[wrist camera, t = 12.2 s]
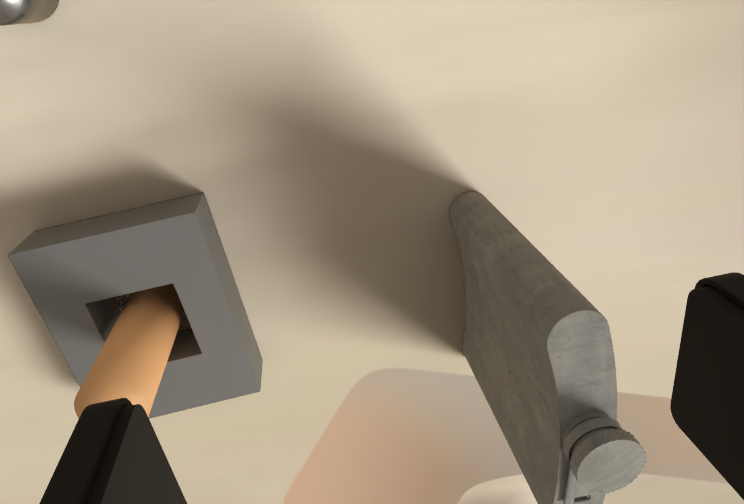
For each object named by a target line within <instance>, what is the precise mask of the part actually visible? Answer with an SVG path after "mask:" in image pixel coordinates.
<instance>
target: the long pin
mask: <svg viewBox="0 0 744 504" xmlns="http://www.w3.org/2000/svg"><path fill="white" fill-rule="evenodd" d="M183 314H184V308H183V306H182V303H181V301H180V298H179V296H178V294H177V291H176V289H175V286H174V284H173V283H172V284H167V285H163V286H159V287H155V288H150V289H146V290H142V291H137V292H133V293H132V294H131V295H130V297H129V299H128V301H127V303H126V305H125V306H124V308H123V310H122V312H121V314H120V316H119V318H118V319H117V321H116V323H115V325H114V327H113V329H112V331H111V332H110V334H109V336H108V338H107V340H106V342H105V343H104V345H103V347H102V349H101V351H100V353H99V355H98V356H97V358H96V360H95V362H94V364H93V366H92V367H91V369H90V371H89V373H88V375H87V377H86V379H85V380H84V382H83V384H82V386H81V388H80V390H79V392H78V393H77V395H76V398H75V401H74V407H75V412H76V414H77V416H78V418H80V416H81V414H82V412H83V410H84V409H85V407H86V406H88V405H90V404H95V403H100V402H105V401H110V400H115V399H120V398H127V399H128V400H130V402H131V403H132V405H136V404H140V405H142V406H143V408H144V410H145V412H146V414H147V416H148V417H149V414H150V411H151V408H152V405H153V402H154V399H155V396H156V393H157V390H158V387H159V384H160V381H161V378H162V375H163V372H164V369H165V367H166V364H167V361H168V358H169V355H170V352H171V349H172V346H173V343H174V340H175V337H176V334H177V331H178V328H179V325H180V322H181V319H182V317H183Z"/></svg>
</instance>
